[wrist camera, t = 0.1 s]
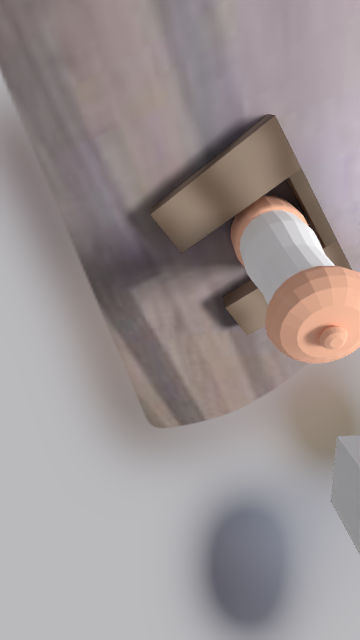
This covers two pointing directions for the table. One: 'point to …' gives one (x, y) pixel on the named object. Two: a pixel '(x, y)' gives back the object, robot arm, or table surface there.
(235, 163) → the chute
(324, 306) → the salt shaker
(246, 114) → the table surface
